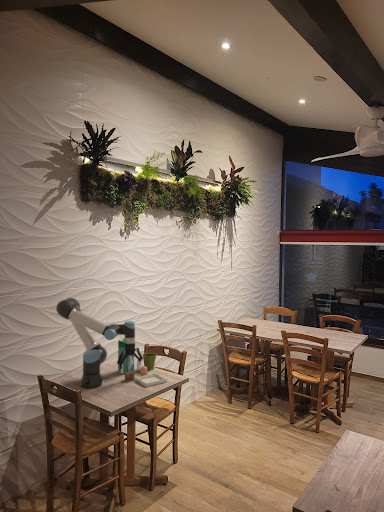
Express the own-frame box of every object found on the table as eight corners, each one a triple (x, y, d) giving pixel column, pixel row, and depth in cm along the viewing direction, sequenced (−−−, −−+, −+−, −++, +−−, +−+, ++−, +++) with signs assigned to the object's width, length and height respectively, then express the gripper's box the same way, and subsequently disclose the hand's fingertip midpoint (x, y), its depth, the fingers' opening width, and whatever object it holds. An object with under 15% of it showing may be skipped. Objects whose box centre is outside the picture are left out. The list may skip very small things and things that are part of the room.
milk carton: (127, 373, 313) (127, 341, 312) (117, 371, 316) (118, 339, 315) (134, 370, 321) (134, 338, 320) (124, 368, 325) (124, 337, 324)
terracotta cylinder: (142, 378, 303) (142, 368, 303) (139, 376, 307) (139, 367, 307) (148, 376, 306) (148, 367, 306) (145, 375, 310) (145, 365, 310)
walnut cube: (128, 381, 296) (128, 374, 295) (124, 379, 300) (125, 372, 299) (134, 380, 299) (134, 373, 298) (131, 378, 303) (131, 371, 302)
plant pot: (159, 367, 328) (159, 353, 328) (151, 371, 317) (152, 357, 317) (146, 365, 333) (146, 351, 333) (139, 369, 322) (139, 355, 322)
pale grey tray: (146, 387, 284) (146, 383, 284) (135, 380, 297) (135, 377, 297) (166, 382, 295) (166, 378, 295) (155, 376, 307) (155, 373, 307)
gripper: (116, 346, 288) (117, 376, 288) (147, 341, 302) (147, 369, 303) (112, 344, 294) (112, 373, 294) (142, 339, 308) (142, 366, 309)
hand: (130, 371), depth 299 cm, fingers open, 13 cm apart
